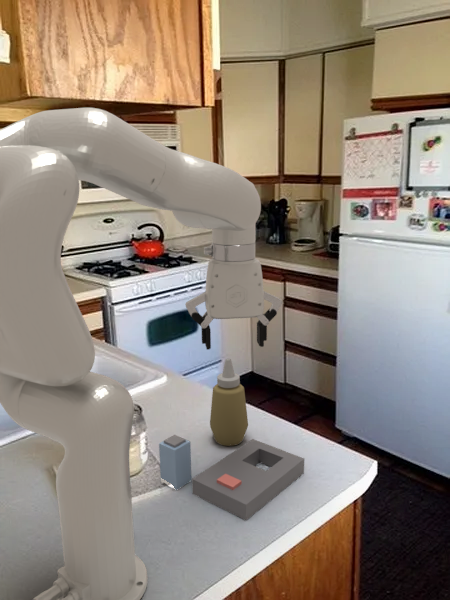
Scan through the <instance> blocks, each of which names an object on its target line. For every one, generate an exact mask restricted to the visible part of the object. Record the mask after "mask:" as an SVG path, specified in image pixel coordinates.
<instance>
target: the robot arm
mask: <svg viewBox="0 0 450 600" xmlns="http://www.w3.org/2000/svg"><path fill="white" fill-rule="evenodd" d="M80 181H83V182H87V183H91V184H94V185H96V186H97V187H101V188H102V189H105V190H107V191H110V192H112V193H115V194H116V195H118V196H121V197H123V198H126V199H128V200H130V201H133V202H135V203H137V204H139V205H141V206H145V207H149V208H153V209H159V210H163V211H170V212H172V215H173V216H174V218H175V219H176V221H177V222H178V223H180V224H181V225H184V226H186V227H188V228H193V229H207V230H211V239H212V240H211V244H210V245H208V246H204V247H203V254H204V256H205V255H208V256H210V257H212V258H211V259H210V260H208V264H207V268H206V278H205V291H204V292H202V293H200V294H198V295H197V296H195V297H193V298H191V299H190V300H188V301H186V302H185V308H186V309H187V311H188V314H189V315H190V317H191V318H192V320H193V321H194V322H196V323H197V324H198V325H199V326H200V327H201V344H202V345H203V344H205V348H206V350H211V348H212V345H211V344H212V343H211V342H212V341H211V339H212V337H211V327H210V324H211V323H212V321H213V320H228V319H229V320H231V319H252V318H253V319H254V318H257V320H258V321H257V322H256V342H257V344H258V346H259V347H260V348H261V347H262V348H263V347H264V346H265V345H264V344H265V341H267V339H268V335H267V334H268V325H269V324H270V322H271V321H272V320H273V319H274V318H275V317H276V316H277V314H278V312H279V310H280V308H281V306H282V305H283V304H282V303H283V300H282V299H281V298H280V297H277V296H276V295H274V294H271V293H269V292H267V291H265V290H264V280H263V279H264V278H263V271H262V263H261V261H260V260H259V259H258V258H256V223H257V222H258V220H259V217H260V214H261V211H262V210H261V209H262V202H261V197H260V195H259V192H258V190H257V188H256V187H255V184H254V183H253V182H251V181H249V179H247V178H246V177H244V176H243V175H242V174H240V173H238V172H237V171H235V170H233V169H231V168H229V167H226V166H224V165H221V164H218V163H216V162H213V161H209V160H206V159H203V158H200V157H198V156H195V155H192V154H189V153H186V152H182V151H179V150H176V149H173V148H169V147H168V146H165V145H164V144H162V143H161V142H159V141H157V140H156V139H153V138H152V137H150V136H149V135H148V134H146V133H144V132H143V131H140V129H138V128H136V127H135V126H133V125H131V124H129V123H128V122H127V121H125V120H123V119H122V118H120V117H118V116H117V115H115V114H114V113H111V112H109V111H107V110H105V109H101V108H95V107H78V108H77V107H76V108H74V107H73V108H62V109H48V110H42V111H39V112H36V113H34V114H31V115H28V116H25V117H24V118H22V119H20V120H17V121H16V122H13V123H11V124H9V125H7V126H5V127H3V128H1V129H0V405H1V407H2V408H3V410H4V411H5V412H6V414H7V415H8V416H9V417H10V419H12V421H13V422H14V423H16V424H17V425H18V426H19V427H21V428H23V429H25V430H27V431H29V432H32V433H35V434H37V435H40V436H43V437H46V438H49V439H50V440H52V441H54V442H56V443H59V444H60V445H62V446H63V448H64V456H63V457H62V458H63V459H62V460H61V461H60V464H58V468H57V471H56V474H55V489H56V498H57V504H58V514H59V525H60V534H61V544H62V545H61V546H62V554H63V557H62V558H63V566H61V567H59V568H58V569H57V570H56V571H57V579H56V580H55V581H53V583H52V586H51V587H50V588H48V589H47V590H44V591H42V592H41V593H39V594H38V595H37V596H35V597H34V598H33V599H32V600H141V598H143V596H144V594H145V593H146V590H147V587H148V580H149V579H148V569H147V567H146V565H145V563H144V562H143V560H142V559H141V558H140V557H139V556H138V555H137V554H136V550H135V548H136V547H135V532H134V519H133V518H134V517H133V502H132V501H133V500H132V499H133V498H132V486H131V473H130V472H131V470H130V449H131V448H130V446H131V445H130V444H131V435H132V429H133V423H134V418H135V417H134V415H135V406H134V405H135V404H134V400H133V398H132V395H131V393H130V392H129V390H128V389H127V388H126V386H124V385H123V384H122V383H121V382H119V381H117V380H116V379H114V378H111V377H110V376H106V375H104V374H101V373H97V372H93V371H91V370H92V369H93V366H94V364H95V359H96V358H95V356H96V351H95V350H96V349H95V343H94V339H93V336H92V335H91V332H90V329H89V327H88V324H87V322H86V320H85V318H84V317H83V313H82V312H81V310H80V308H79V306H78V303H77V301H76V298H75V297H74V294H73V293H72V290H71V288H70V285H69V283H68V281H67V278H66V275H65V272H64V270H63V266H62V259H61V256H62V255H61V254H62V248H63V247H62V246H63V243H64V239H65V235H66V232H67V230H68V226H69V225H70V222H71V221H72V218H73V216H74V213H75V211H76V209H77V205H78V202H79V197H80ZM265 301H267V302H268V303H271V306H270V307H269V309H267V310H266V312H265V311H264V310H265ZM202 304H205V305H204V306H205V310H206V311H205V312H204V313H203V315H202V314H200V313H199V312H198V311H197V309H196V307H197V306H200V305H202Z"/></svg>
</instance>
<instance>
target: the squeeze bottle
mask: <svg viewBox="0 0 450 600" xmlns="http://www.w3.org/2000/svg"><path fill="white" fill-rule="evenodd" d="M232 362H233V361H232V359H231V358H225V361H224V365H223V371H222V373H220V374H218V375H217V376H216V384H215V385H214V386H213V387H212V393H211V396H212V397H211V405H210V418H209V427H210V429H211V432H212V435H213V438H214V440H215V442H216V443H218V444H219V445H221V446H225V447H226V446H227V447H229V446H231V447H232V446H236V445H237V446H238V445H239V444H241V443H242V442H243V440H244V438H245V436H246V432H247V429H248V426H249V422H248V421H249V419H248V410H247V403H246V402H247V401H246V392H245V387H244V386H243V385H242V384H241V381H240V378H241V377H240V375H239V374H238V373H236V372H235V371H234V367H233V363H232Z"/></svg>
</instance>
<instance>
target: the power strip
mask: <svg viewBox="0 0 450 600" xmlns="http://www.w3.org/2000/svg"><path fill="white" fill-rule="evenodd" d="M259 463H260V464H262V465H264V466H265V465H266V466H268V467H270V468H268V469H267V470H266V469H263V468H260V467H259V466H256V465H258V464H259ZM304 473H305V458H304V457H300V456H298V455H296V454H293V453H291V452H289V451H285V450H282V449H281V448H278V447H275V446H272V445H270V444H268V443H264V442H263V441H259V440H257V439H254V438H252V439H251V440H249V441H248V442H246V443H244V444H243V445H241V446H240V447H238V448H237V449H235V450H234V451H232V452H231V453H229V454H228V455H226V456H225V457H223V458H222V459H219V461H217V462H215V463H214V464H212V465H211V466H209V467H208V468H207V469H205V470H203V471H201V472H200V473H198V474H197V475H196V476H193V478H192V477H191V478H192V480H191V484H192V485H191V486H192V487H191V488H192V489H191V491H192V495H194V496H196V497H198V498H200V499H202V500H204V501H207V502H208V503H210V504H212V505H215V506H216V507H218V508H220V509H222V510H224V511H227V512H228V513H230V514H232V515H234V516H236V517H238V518H240V519H242V520H244V521H248V520H249V519H250V518H251V517H252V516H254V515H255V514H256V513H257V512H258V511H260V510H261V509H263V507H264V506H266V505H267V504H268V503H269V502H271V501H272V500H273V499H275V497H277V496H278V495H279V494H280V493H281V492H283V491H284V490H285V489H287V487H289V486H290V485H291V484H292V483H294V482H295V481H296V480H298V478H300V477H301V476H302V475H304Z"/></svg>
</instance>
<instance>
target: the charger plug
mask: <svg viewBox="0 0 450 600" xmlns="http://www.w3.org/2000/svg"><path fill="white" fill-rule="evenodd" d="M158 450H159V451H158V452H159V470H160V471H159V473H160V479H161V478H162V479H164V480H166V481H167V482H169V483H171V484H172V485H173V486H174V488H175V489H176V490H175V489H174V490H175V491H178V490H180V489H181V488H182V487H184V486H186V485H187V484H189V483H191V482H192V455H191V454H192V453H191V452H192V451H191V441H190V440H187V439H185V438H183V437H182V436H179V435H176V434H173V435H171V436H169V437H168V438H166V439H164V440H162V441H160V442H159V443H158ZM180 487H181V488H180ZM177 489H178V490H177Z"/></svg>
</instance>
